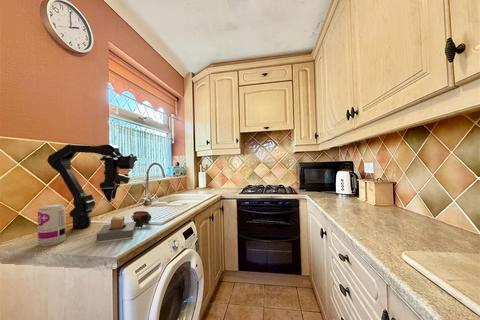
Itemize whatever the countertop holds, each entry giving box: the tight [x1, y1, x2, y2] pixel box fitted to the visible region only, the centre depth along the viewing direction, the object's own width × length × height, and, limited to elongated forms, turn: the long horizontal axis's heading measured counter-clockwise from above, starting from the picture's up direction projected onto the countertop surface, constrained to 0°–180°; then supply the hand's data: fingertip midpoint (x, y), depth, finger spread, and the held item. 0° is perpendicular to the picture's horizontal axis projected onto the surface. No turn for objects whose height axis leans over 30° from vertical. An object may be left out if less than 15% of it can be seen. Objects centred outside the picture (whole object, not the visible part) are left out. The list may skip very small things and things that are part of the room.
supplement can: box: [37, 203, 67, 247], centre depth 85 cm, size 8×8×15 cm
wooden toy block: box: [110, 216, 125, 230], centre depth 92 cm, size 4×4×7 cm
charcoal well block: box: [95, 221, 137, 244], centre depth 92 cm, size 13×13×4 cm
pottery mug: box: [130, 210, 152, 228], centre depth 107 cm, size 12×10×8 cm
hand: (111, 200), depth 106 cm, fingers open, 9 cm apart
